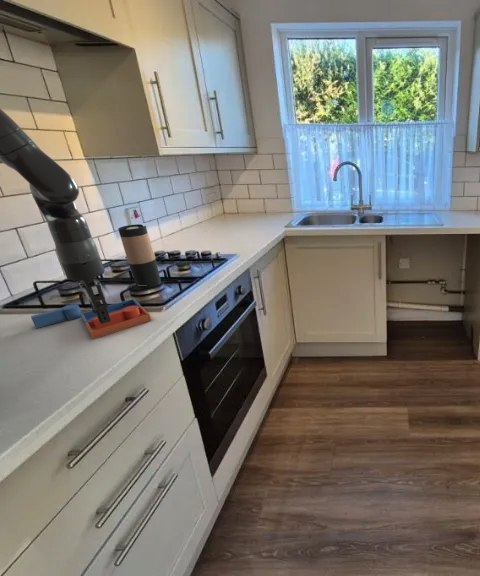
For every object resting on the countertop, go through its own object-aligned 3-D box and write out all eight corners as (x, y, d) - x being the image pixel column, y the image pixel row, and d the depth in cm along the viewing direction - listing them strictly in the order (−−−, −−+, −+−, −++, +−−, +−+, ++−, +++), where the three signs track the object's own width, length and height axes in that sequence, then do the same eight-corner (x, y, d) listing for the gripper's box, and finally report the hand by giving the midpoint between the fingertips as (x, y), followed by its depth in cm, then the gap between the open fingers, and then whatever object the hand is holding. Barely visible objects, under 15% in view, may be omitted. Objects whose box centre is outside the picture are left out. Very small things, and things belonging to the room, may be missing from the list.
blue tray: (87, 328, 95) (84, 321, 95) (82, 319, 100) (79, 313, 99) (143, 311, 104) (141, 305, 103) (135, 304, 109) (134, 298, 108)
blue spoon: (36, 329, 95) (31, 319, 94) (35, 325, 98) (30, 314, 96) (83, 316, 102) (79, 306, 101) (81, 312, 104) (77, 302, 103)
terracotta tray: (93, 338, 90) (90, 332, 89) (87, 328, 95) (85, 322, 94) (151, 320, 99) (149, 314, 98) (143, 312, 104) (141, 306, 103)
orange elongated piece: (98, 332, 92) (94, 321, 91) (95, 327, 95) (91, 317, 93) (142, 318, 99) (139, 308, 98) (139, 314, 101) (135, 304, 100)
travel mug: (132, 290, 119) (113, 230, 111) (141, 281, 126) (124, 225, 118) (157, 287, 120) (140, 228, 113) (165, 279, 127) (149, 223, 119)
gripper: (56, 255, 89) (79, 313, 96) (64, 268, 80) (89, 331, 86) (93, 248, 94) (113, 304, 101) (105, 259, 85) (125, 320, 91)
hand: (102, 317), depth 93 cm, fingers open, 8 cm apart
